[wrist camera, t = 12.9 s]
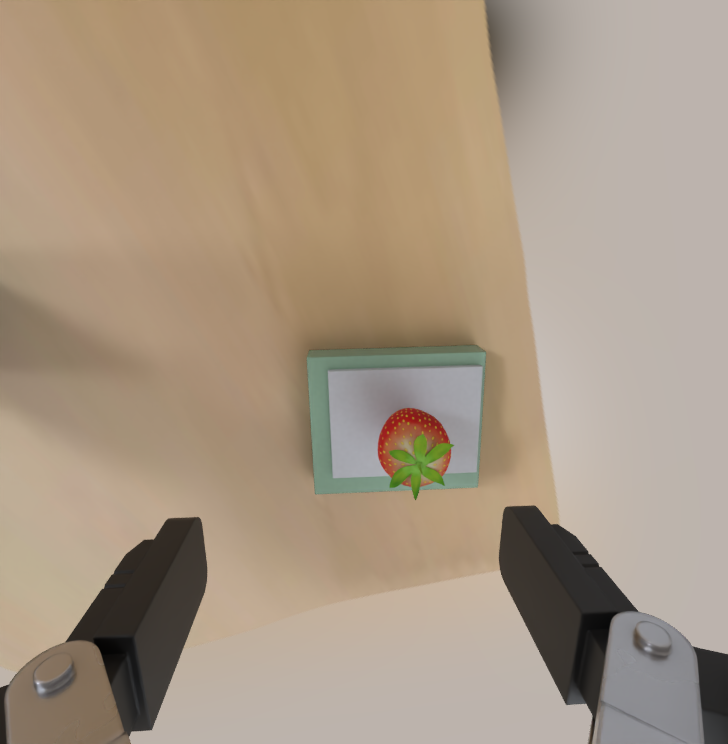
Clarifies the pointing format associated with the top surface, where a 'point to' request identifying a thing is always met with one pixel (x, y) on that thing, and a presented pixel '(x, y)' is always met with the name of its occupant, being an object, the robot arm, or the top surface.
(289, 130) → the top surface
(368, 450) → the scale
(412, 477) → the fruit
